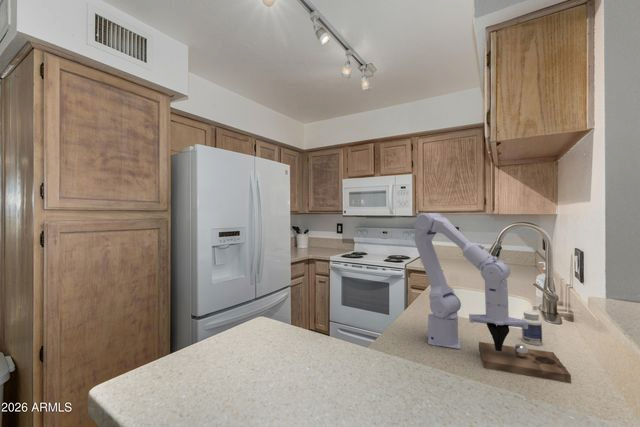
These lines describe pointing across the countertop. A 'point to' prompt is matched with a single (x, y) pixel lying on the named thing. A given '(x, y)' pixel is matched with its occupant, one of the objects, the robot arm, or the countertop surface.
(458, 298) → the robot arm
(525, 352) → the steel ball
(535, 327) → the pill bottle
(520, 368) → the walnut board
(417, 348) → the countertop surface
